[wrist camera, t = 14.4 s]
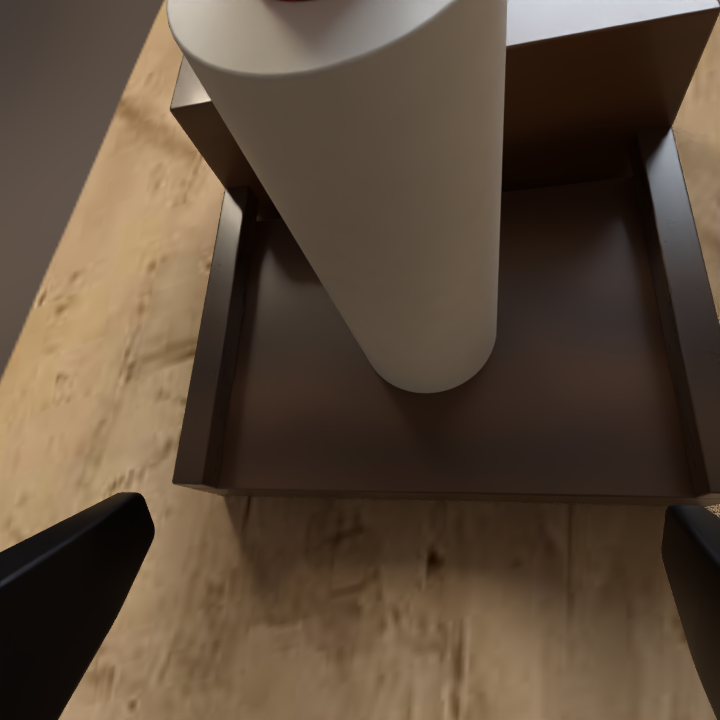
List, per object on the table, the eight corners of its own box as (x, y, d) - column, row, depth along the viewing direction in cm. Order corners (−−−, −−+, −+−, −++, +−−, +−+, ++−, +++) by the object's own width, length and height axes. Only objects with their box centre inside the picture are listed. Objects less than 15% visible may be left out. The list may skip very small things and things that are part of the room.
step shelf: (706, 507, 17) (873, 467, 9) (221, 496, 21) (80, 462, 14) (623, 92, 24) (683, -115, 16) (271, 146, 28) (195, 1, 21)
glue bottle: (477, 408, 17) (442, -78, 4) (346, 376, 19) (18, -45, 6) (510, 283, 19) (561, -374, 5) (385, 264, 20) (195, -280, 7)
